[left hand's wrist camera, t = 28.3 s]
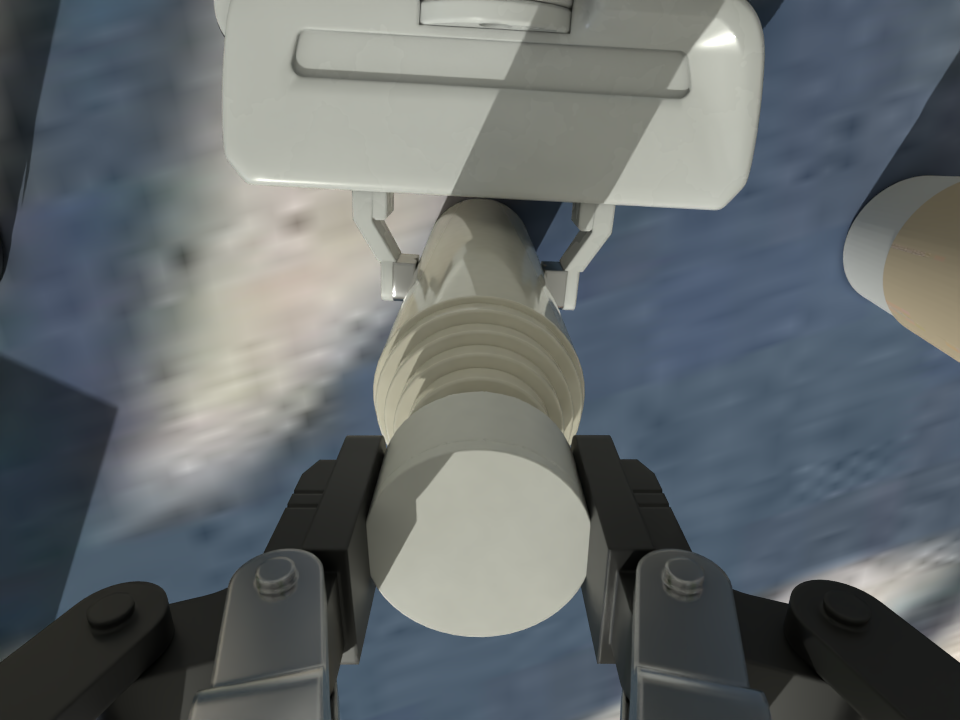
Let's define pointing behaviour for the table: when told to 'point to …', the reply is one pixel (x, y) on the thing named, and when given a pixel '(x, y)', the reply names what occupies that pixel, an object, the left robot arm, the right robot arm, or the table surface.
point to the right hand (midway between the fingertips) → (479, 302)
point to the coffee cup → (911, 257)
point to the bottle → (479, 324)
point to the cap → (478, 517)
